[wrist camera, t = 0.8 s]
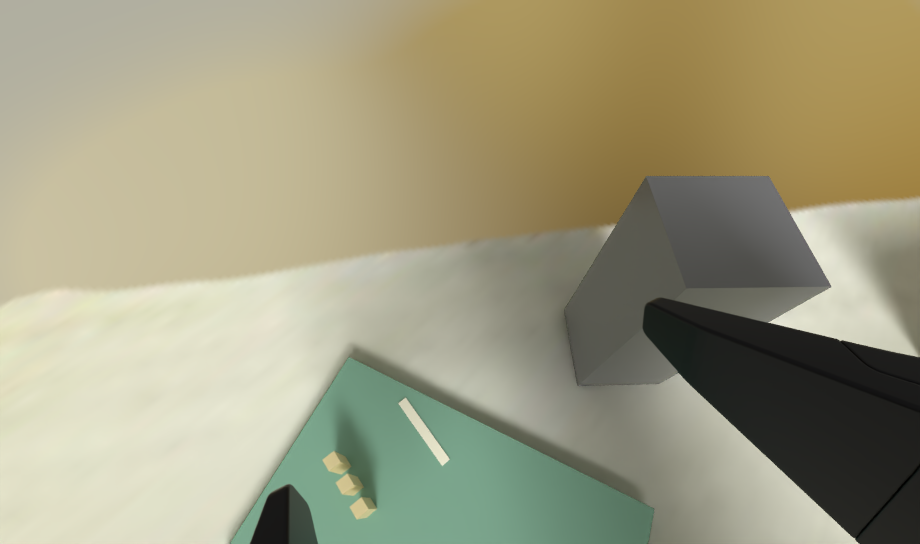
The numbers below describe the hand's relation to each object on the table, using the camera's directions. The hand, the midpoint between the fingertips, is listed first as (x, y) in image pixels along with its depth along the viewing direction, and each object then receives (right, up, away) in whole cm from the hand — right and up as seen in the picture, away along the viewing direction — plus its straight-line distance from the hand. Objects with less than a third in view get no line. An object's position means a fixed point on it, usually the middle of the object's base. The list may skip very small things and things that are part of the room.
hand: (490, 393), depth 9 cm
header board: (-1, -10, +11) cm, 15 cm away
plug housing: (+9, -2, +16) cm, 19 cm away
